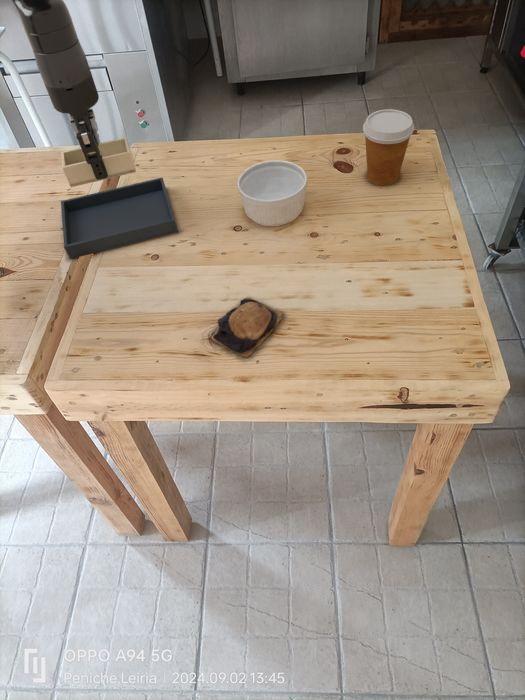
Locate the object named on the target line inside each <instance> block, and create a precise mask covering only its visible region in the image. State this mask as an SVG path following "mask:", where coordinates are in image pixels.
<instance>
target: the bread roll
mask: <svg viewBox="0 0 525 700" xmlns="http://www.w3.org/2000/svg"><path fill="white" fill-rule="evenodd" d="M282 318H283V313H282V312H281V311H279V310H277V309H275V308H273V307H271V306H269V305H266V304H264V303H263V302H260V301H258V300H256V299H253V298H251V297H246V298H244V299H241V300H240V301H239V305H237V306H236V307H234V308H232V309H230V310H229V311H227V312H226V313H225V315H224V316H222V317H220V318H218V320H217V325H218V328H217V329H216V330H215V331H214V332H213V334H212V335H211V336H210V339H211V342H213V343H214V344H216V345H219V346H220V347H221V348H223V349H227V350H229V351H230V352H231V353H234V354H236V355H239V356H241V357H243V358H244V359H245V358H246V359H247V358H249V357H250V356H251V355H252V354H253V353H254V352H255V351H256V350H257V349H258V347H260V346H261V345H262V344H263V342H264V340H265V339H267V338H268V337H269V336H270V335H271V333H272V332H273V330H275V329H276V327H277V325H278V324H279V323H280V321H281V320H282Z"/></svg>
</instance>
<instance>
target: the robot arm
mask: <svg viewBox="0 0 525 700" xmlns="http://www.w3.org/2000/svg"><path fill="white" fill-rule="evenodd" d="M11 2H12V4H13V6H14V7H15V9H16V12H17V13H18V16H19V18H20V21H21V24H22V27H23V30H24V33H25V35H26V38H27V39H28V42H29V44H30V47H31V49H32V53H33V56H34V60H35V63H36V67H37V69H38V72H39V74H40V77H41V79H42V81H43V84H44V87H45V89H46V91H47V94H48V96H49V99H50V102H51V104H52V106H53V108H54V109H55V110H56V112H58V113H61V114H67V115H69V118H70V121H69V123H70V125H71V129H72V131H73V132H74V133H75V138H76V140H77V141H78V145H79V148H82V151H83V153H84V156H85V158H86V162H87V163H88V164H91V167H92V170H93V172H94V175H95V177H96V179H98V180H100V179H104V178H107V177H108V173H107V170H106V167H105V165H104V162H103V159H102V157H103V156H102V154H101V152H100V149H99V144H100V143H101V139H100V134H99V133H98V131H99V127H98V123H97V121H96V115H95V112H94V109H93V107H94V106H96V105H97V103H98V101H99V98H100V96H99V92H98V89H97V86H96V83H95V81H94V77H93V73H92V71H91V68H90V64H89V62H88V60H87V56H86V53H85V51H84V48H83V47H82V45H81V42H80V40H79V38H78V37H79V36H78V34H77V31H76V28H75V24H74V22H73V18H72V16H71V13H70V10H69V8H68V6H67V4H66V2H65V1H64V0H11ZM91 152H96V153H93V154H89V153H91ZM100 181H101V180H100Z"/></svg>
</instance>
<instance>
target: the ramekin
mask: <svg viewBox="0 0 525 700" xmlns="http://www.w3.org/2000/svg"><path fill="white" fill-rule="evenodd" d="M236 187H237V193H238V195H239V197H240V200H241V202H242V206H243V209H244V213H245V214H246V216H247V217H248V218H249V219H250V220H251V221H253V222H254V223H255V224H258V225H261V226H264V227H280V226H283V225H286V224H289V223H292V222H293V221H294V220H296V218H298V216H300V215H301V213H302V211H303V210H304V206H305V201H306V192H307V191H306V190H307V187H308V177H307V173H306V171H305V170H304V169H303V168H302V167H301V166H299V165H298V164H296V163H295V162H291V161H287V160H279V159H278V160H277V159H274V160H273V159H272V160H265V161H261V162H258V163H255V164H253V165H250V166H249V167H247V168H245V170H243V171H242V172H241V173H240V174H239V177H238V179H237V182H236Z"/></svg>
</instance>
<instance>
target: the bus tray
mask: <svg viewBox="0 0 525 700" xmlns="http://www.w3.org/2000/svg"><path fill="white" fill-rule="evenodd" d="M168 194H169V193H168V191H167V187H166V183H165V181H164V178H163V176H162V177H157V178H152V179H149V180H144V181H141V182H136V183H133V184H128V185H124V186H120V187H115V188H111V189H106V190H102V191H98V192H94V193H89V194H85V195H80V196H77V197H73V198H68V199H64V200H60V209H61V223H62V224H61V225H62V237H63V248H64V251H65V252H66V254H67V256H68V258H69V260H72V259H76V258H80V257H81V258H82V257H84V256H88V255H92V254H97V253H100V252H104V251H107V250H108V251H109V250H113V249H116V248H121V247H124V246H128V245H133V244H137V243H140V242H146V241H149V240H152V239H153V240H154V239H157V238H162V237H165V236H169V235H173V234H177V233H179V229H178V226H177V225H178V224H177V221H176V219H175V214H174V211H173V208H172V204H171V202H170V198H169V195H168Z"/></svg>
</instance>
